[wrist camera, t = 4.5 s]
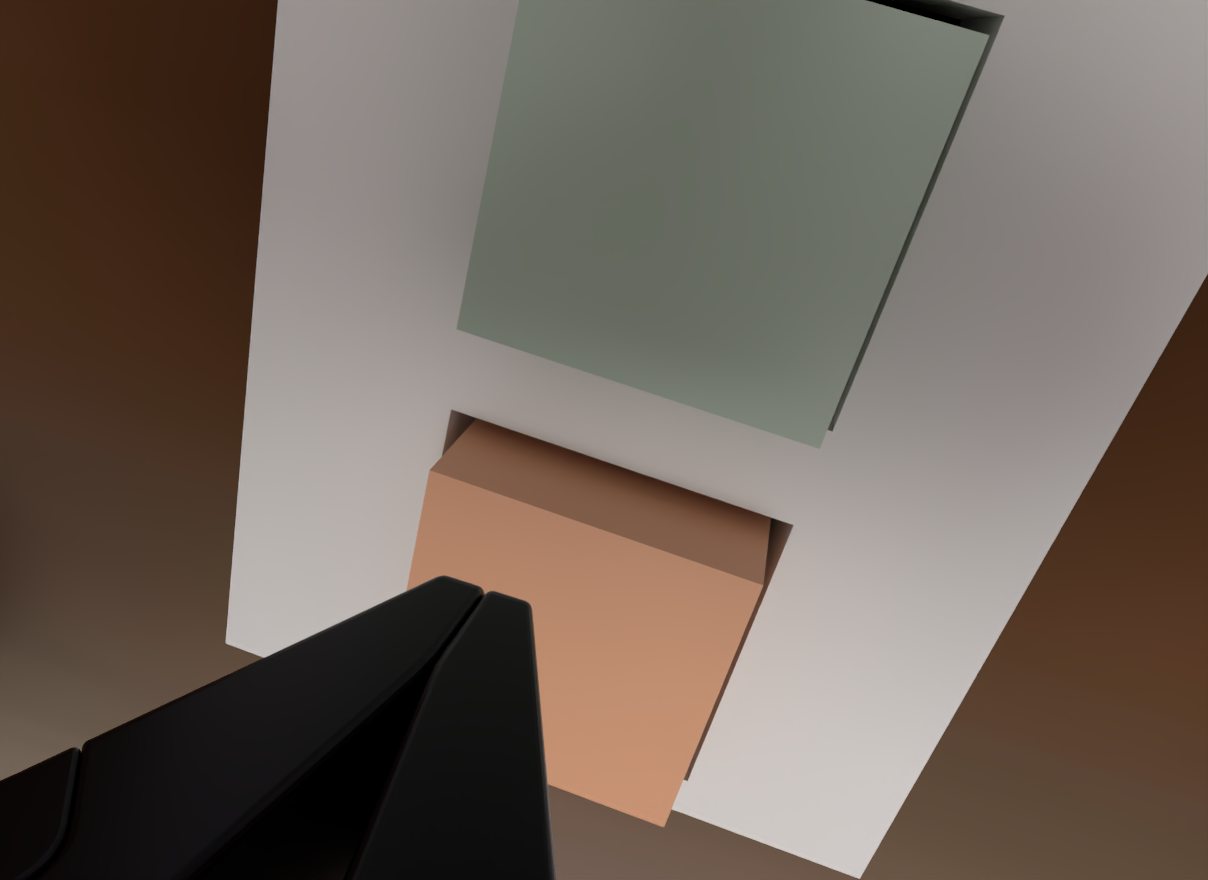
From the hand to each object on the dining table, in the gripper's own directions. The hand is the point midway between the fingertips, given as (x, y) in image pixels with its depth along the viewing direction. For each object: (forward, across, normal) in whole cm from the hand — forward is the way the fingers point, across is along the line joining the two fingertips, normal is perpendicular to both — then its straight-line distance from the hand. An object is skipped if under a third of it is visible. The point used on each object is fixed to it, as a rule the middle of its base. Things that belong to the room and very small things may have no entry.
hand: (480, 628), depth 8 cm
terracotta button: (+9, 0, +4) cm, 10 cm away
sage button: (+9, 0, -3) cm, 9 cm away
